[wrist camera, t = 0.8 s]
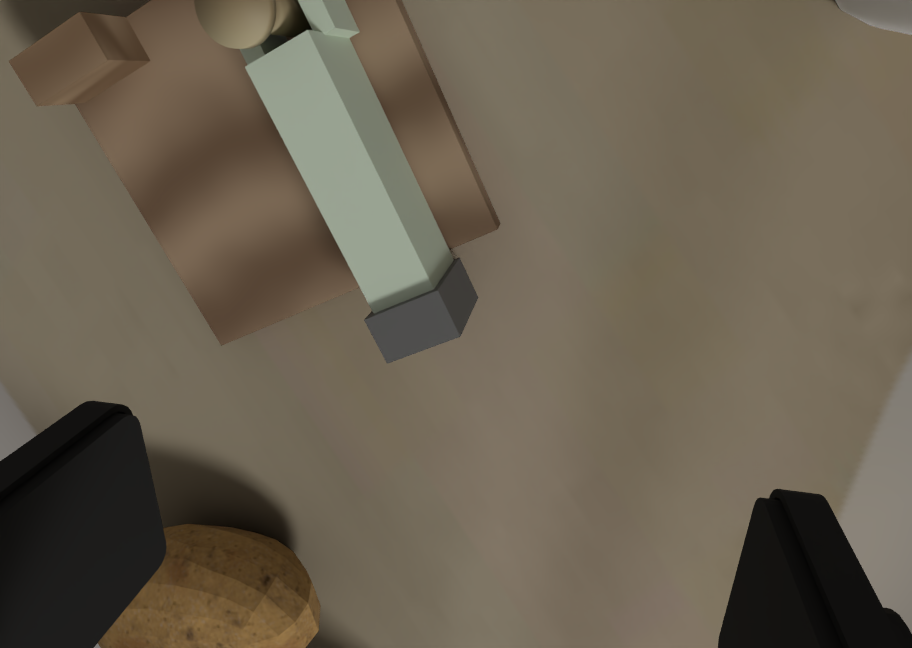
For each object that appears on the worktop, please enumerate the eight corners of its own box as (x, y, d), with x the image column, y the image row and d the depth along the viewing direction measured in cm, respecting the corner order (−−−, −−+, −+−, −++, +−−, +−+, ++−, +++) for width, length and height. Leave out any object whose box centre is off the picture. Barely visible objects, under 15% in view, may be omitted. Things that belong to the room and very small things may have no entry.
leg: (253, 13, 28) (189, 3, 23) (329, -33, 27) (277, -55, 22) (410, 323, 32) (382, 365, 28) (482, 295, 31) (465, 334, 26)
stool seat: (500, 223, 31) (476, 269, 24) (232, 337, 36) (147, 402, 29) (349, -119, 27) (264, -187, 20) (70, 66, 32) (-76, 65, 25)
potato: (354, 619, 43) (307, 731, 36) (170, 599, 46) (92, 700, 38) (336, 501, 39) (280, 599, 32) (138, 487, 42) (45, 574, 35)
